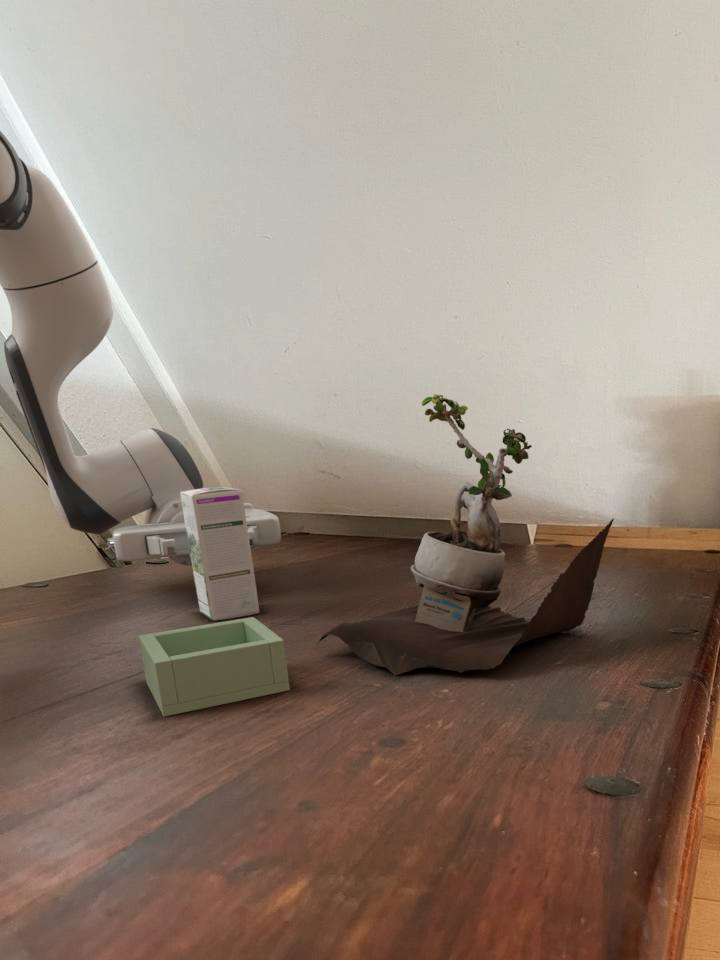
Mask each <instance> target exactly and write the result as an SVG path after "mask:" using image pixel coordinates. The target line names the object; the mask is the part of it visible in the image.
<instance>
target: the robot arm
mask: <svg viewBox="0 0 720 960" xmlns="http://www.w3.org/2000/svg"><path fill="white" fill-rule="evenodd" d="M0 287H1V288H2V290H3V292H4V294H5V296H6V299H7V301H8V304H9V307H10V313H11V334H9V336H8V337H7V338H6V340H5V341H4V342H3V349H4V357H5V361H6V362H5V363H6V365H7V369H8V372H9V375H10V379H11V381H12V385H13V387H14V389H15V393H16V396H17V399H18V402H19V405H20V408H21V410H22V412H23V414H24V418H25V420H26V423H27V426H28V430H29V431H30V434H31V437H32V440H33V442H34V445H35V448H36V451H37V454H38V455H39V457H40V461H41V463H42V466H43V469H44V472H45V475H46V480H47V481H46V482H47V487H48V492H49V496H50V499H51V502H52V504H53V507H54V508H55V510H56V512H57V514H58V515H59V516H60V518H61V520H63V521H64V523H65V524H67V525H68V526H69V528H70V529H72V530H74V531H78V532H82V533H86V534H91V535H92V534H93V535H102V534H104V533H106V532H107V531H109V530H112V528H114V527H116V526H118V525H119V524H122V522H123V521H126V520H128V519H130V518H132V517H135V516H137V515H139V514H141V513H143V512H145V513H144V516H143V524H135V525H127V526H121V527H117V528H115V529H114V530H113V531H112V534H111V535H112V537H108V538H107V540H106V543H107V545H108V546H109V547H112V548H114V553H115V557H116V560H117V561H118V562H136V561H144V560H145V561H146V560H153V559H162V558H168V559H170V560H171V561H173V562H175V563H177V564H180V565H183V566H189V567H192V562H191V556H190V549H189V544H188V538H187V533H186V526H185V520H184V514H183V507H182V501H181V495H180V492H184V491H189V490H195V489H201V488H204V481H203V478H202V475H201V474H200V471H199V468H198V466H197V464H196V462H195V461H194V459H193V457H192V456H191V454H190V453H189V451H188V450H187V448H186V447H185V446H184V445H183V443H182V442H181V441H180V440H179V439H177V438H176V437H175V436H173V435H171V434H169V433H167V432H165V431H163V430H161V429H159V428H154V427H150V428H148V429H145V430H142V431H139V432H137V433H135V434H133V435H130V436H128V437H126V438H125V437H124V438H122V439H120V440H119V441H117V442H114V443H112V444H110V445H107V446H104V447H102V448H100V449H98V450H95V451H93V452H90V453H88V454H85V455H76V454H75V451H74V448H73V445H72V441H71V439H70V437H69V433H68V430H67V427H66V425H65V421H64V419H63V416H62V412H61V410H60V406H59V392H60V389H61V387H62V384H63V383H64V381H66V379H67V377H68V376H69V375H70V373H72V371H74V370H75V368H76V367H77V366H78V365H79V364H80V363H82V361H83V360H85V359H86V358H87V357H88V356H90V354H91V353H93V352H94V351H95V350H96V349H97V347H99V345H100V344H102V341H103V340H104V339H105V337H106V335H107V334H108V333H109V330H110V327H111V325H112V322H113V318H114V314H115V313H114V311H115V304H114V299H113V296H112V292H111V290H110V287H109V284H108V281H107V279H106V275H105V274H104V271H103V268H102V266H101V265H100V262H99V260H98V257H97V255H96V254H95V252H94V250H93V247H92V245H91V243H90V241H89V240H88V237H87V236H86V234H85V232H84V230H83V228H82V226H81V224H80V222H79V221H78V219H77V218H76V216H75V214H74V212H73V211H72V209H71V207H69V205H68V203H67V201H66V200H65V198H64V197H63V195H62V194H61V192H60V191H59V189H58V188H57V186H56V185H55V183H54V182H53V181H52V179H51V178H50V177H49V176H47V174H45V172H43V171H42V170H40V169H38V168H37V167H34V166H32V165H29V164H26V163H25V162H24V160H22V158H20V157H19V154H18V152H17V151H16V149H15V148H14V146H13V145H12V144H11V142H10V141H9V140H8V138H7V137H6V135H5V134H4V133H3V132H2V131H1V130H0ZM243 503H244V510H245V516H246V523H247V529H248V536H249V542H250V549H251V551H254V550H255V551H256V549H258V547H266V546H277V545H280V544H281V542H282V530H281V523H280V519H279V517H278V515H276V514H274V513H272V512H269V511H266V510H265V509H259V508H254V505H253V504H252V503H249V502H243Z"/></svg>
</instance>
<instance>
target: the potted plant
mask: <svg viewBox="0 0 720 960" xmlns="http://www.w3.org/2000/svg"><path fill="white" fill-rule="evenodd" d="M430 402H431V403H432V404H433V409H432V408H426V410H425V411H424V415H425V416H426V417H427V416H429V418H428V419H429V421H428V422H429V423H431V422H433V421H434V420H438V421H441V422H447V424H449V426H450V427H451V428H452V430H453V432H454V433H455V434H456V435H457V437H458V438H459V439H458V440H457V441H456V446H457V447H458V448H459V449H465V450H464V456H465V458H466V459H467V460H469V459H471V458H472V457H473V455H474V457H475V462H476V463H477V464H479V466H480V467H479V474H480V475H481V476H482V477H481V478H480V479H479V481H478V482H477V486H476V485H474V484H473V483H471V482H469V481H465V482H464V483H463V484H462V485H461V487H460V488H459V490H458V492H457V494H456V498H455V502H454V503H455V505H454V511H453V513H452V514H451V516H450V525H451V528H452V531H450V532H441V531H428V532H427V531H426V532H425V533H424V534H423V537H422V539H421V541H420V545H419V546H418V550H417V552H416V553H415V557H414V564H412V565H411V566H410V571H411V572H412V574H413V577H414V579H415V583H416V584H417V585H418V586H419V587H421V588H422V593H421V597H420V600H419V603H418V604H416V605H411V606H407V607H404V608H401V609H397V610H393V611H390V612H387V613H383V614H380V615H379V614H378V615H375V616H372V617H371V618H368V619H363V620H358V621H354V622H341V623H340V624H338V625H336V626H335V627H333V628H332V629H330V630H328V631H327V632H325V633H323V634H322V636H321V637H320V639H319V640H318V641H317V644H316V646H315V647H317V646H318V644H319V643H320V642H321V641H323V640H324V639H326V638H327V637H328V636H334V637H337V638H339V639H340V640H341V641H343V642H344V643H345V644H346V645H347V646H348V647H349V648H350V649H351V650H352V651H353V652H354V653H355V654H356V655H357V657H358V658H360V659H362V660H364V661H365V662H368V663H370V664H372V665H374V666H377V667H383V668H386V669H387V670H388V671H389V672H390V673H392V675H394V676H398V675H402V674H405V673H407V672H411V671H413V670H416V669H442V670H445V671H453V672H458V673H461V674H462V673H464V672H466V671H474V670H475V671H476V670H491V669H495V668H496V666H500V665H502V663H503V662H504V659H505V658H506V657H507V655H509V653H510V651H511V650H512V648H514V647H516V646H518V645H520V644H524V643H527V642H530V641H532V640H535V639H536V640H537V639H538V638H542V637H545V636H550V635H554V634H559V633H565V632H566V633H567V632H570V631H572V630H574V629H576V628H577V627H579V626H582V624H583V623H584V621H585V618H586V613H587V611H588V610H589V606H590V603H591V600H592V596H593V592H594V586H595V580H596V578H597V575H598V572H599V568H600V564H601V559H602V557H603V556H602V555H603V551H604V548H605V543H606V542H607V541H606V540H607V537H608V535H609V533H610V529H611V527H612V525H613V522H614V520H615V518H612V519H611V520H610V521H609V522H608V524H606V525H605V527H604V528H603V529H602V530H600V531H599V532H598V533H597V535H596V536H595V537H594V538H592V540H590V542H588V544H586V545H585V546H584V547H583V548H582V549H581V550H580V552H578V553H577V555H575V557H574V558H573V559H572V561H570V563H569V565H568V566H567V567H566V569H565V571H564V572H562V573H560V574H559V576H558V578H557V579H556V581H554V582H553V585H552V586H550V592H547V595H546V596H545V597H543V601H542V602H541V604H540V605H539V606H538V608H537V611H536V613H535V614H534V616H532V617H531V619H530V621H527V620H526V619H525V617H524V616H523V617H522V616H521V617H517V616H513V615H512V614H511V613H505V612H504V611H502V608H501V607H499V606H498V607H492V606H490V605H491V604H493V603H495V602H496V601H497V600H498V598H499V597H500V595H501V592H502V589H501V587H500V584H501V582H502V579H503V577H504V572H505V559H506V553H505V551H503V549H501V548H499V547H500V546H501V542H502V536H503V535H502V533H503V532H502V526H501V525H502V524H501V522H500V519H499V517H498V514H497V511H496V509H495V507H494V506H493V505H492V503H493V500H496V501H503V500H507V499H510V498H511V497H513V494H512V492H511V491H510V490H509V489H507V488H505V487H506V483H507V481H506V475H505V474H508V475H509V474H510V475H511V474H512V473H513V472H514V470H513V469H510V467H509V466H506V465H505V457H507V456H509V457H510V456H511V460H514V462H515V463H516V464H517V465H520V464H522V462H523V460H528V459H529V458H530V457H529V453H528V451H526V450H530V449H531V448H533V445H532V444H529V443H528V441H527V437H526V435H525V434H524V433H522V432H520V431H519V432H516V430H515V429H514V428H512V429H510V428H506V429H504V430H503V437H502V443H503V444H504V445H505V446H506V447H505V448H504V447H503V448H502V447H501V448H500V449H499V450H498V453H497V459H496V461H495V458H494V455H493V453H491V452H487V454H486V456H485V455H483V454H482V453H481V452H480V451H478V450H477V449H476V448H475V447H474V446H472V444H471V443H470V441H469V440H468V439H467V438H466V437H465V436H464V434H463V433H462V432H461V431H460V429H461V430H462V431H464V430H465V427H466V423H465V422H464V421H463V419H462V416H465V414H466V411H468V409H469V407H468V406H466V405H461V406H460V404H459V403H458V401H456V400H455V401H454V400H453V399H450V398H449V399H448V398H447V397H444V395H442V394H436V393H434V394H433V395H432V396H428V397H427V396H426V398H423V399H422V401H421V406H423V407H424V406H426V405H428V404H429V403H430ZM447 406H448V407H449V408H450V410H447ZM506 431H507V432H506ZM521 443H522V444H523V447H522V445H521ZM494 462H495V464H494ZM501 480H502V485H500V484H501ZM466 492H467V493H468V495H467V494H465V495H464V493H466ZM462 508H464V509H466V510H467V512H468V517H467V531H466V530H463V529H461V526H462V525H461V524H462Z"/></svg>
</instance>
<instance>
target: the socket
mask: <svg viewBox="0 0 720 960" xmlns="http://www.w3.org/2000/svg"><path fill="white" fill-rule="evenodd" d="M137 638H138V642H139V649H140V654H141V659H142V666H143V671H144V677H145V683H146V685H147V687H148V688H149V691H150V693H151V695H152V697H153V698H154V700H155V702H156V705H157V707H158V709H159V711H160V712H161V714H162V716H163V717H169V716H175V715H179V714H184V713H189V712H193V711H197V710H202V709H207V708H212V707H217V706H221V705H222V706H223V705H226V704H231V703H235V702H241V701H245V700H251V699H254V698H259V697H265V696H269V695H273V694H274V695H275V694H279V693H283V692H289V691H291V687H290V681H289V671H288V664H287V654H286V647H285V645H286V644H285V640H284V639H283V638H282V637H280V636H279V635H278V634H277V633H275V632H274V631H272V630H271V629H270V628H268V627H267V626H266V625H264V624H263V623H262V622H260V621H259V620H258V619H256V618H255V617H254V616H251V617H245V618H238V619H233V620H226V621H219V622H214V623H207V624H200V625H195V626H189V627H181V628H176V629H170V630H164V631H158V632H153V633H146V634H140V635H138V636H137Z"/></svg>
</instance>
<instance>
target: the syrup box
mask: <svg viewBox="0 0 720 960" xmlns="http://www.w3.org/2000/svg"><path fill="white" fill-rule="evenodd" d="M180 495H181V501H182V507H183V514H184V520H185V526H186V533H187V538H188V544H189V549H190V556H191V562H192V566H191V567H192V574H193V581H194V587H195V593H196V598H197V603H198V604H197V605H198V609H199V613H200V614H202V615H203V616H205V617H206V618H208V619H210V620H212V621H214V622H215V621H223V620H230V619H235V618H240V617H241V618H242V617H247V616H251V615H256V614H259V613H260V607H259V606H260V605H259V600H258V599H259V597H258V592H257V584H256V577H255V570H254V569H255V568H254V562H253V557H252V550H251V549H250V542H249V536H248V529H247V523H246V516H245V510H244V503H245V502H244V495H243V491H242V489H240V488H232V487H225V486H224V487H223V486H221V487H218V486H217V487H215V486H214V487H203V488H201V489H195V490H189V491H184V492H180Z"/></svg>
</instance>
